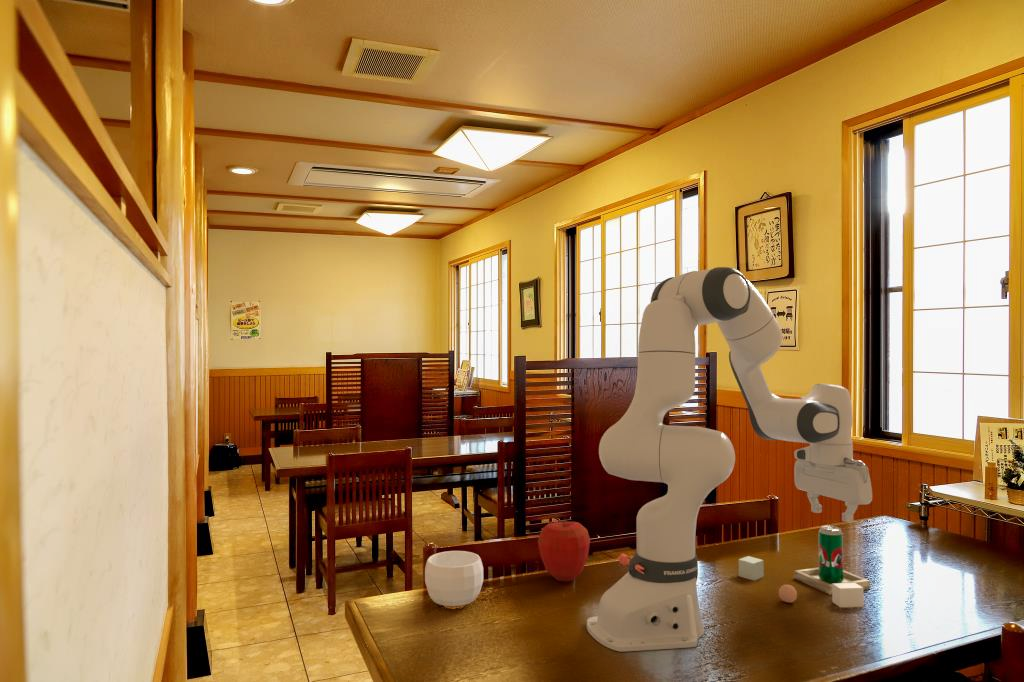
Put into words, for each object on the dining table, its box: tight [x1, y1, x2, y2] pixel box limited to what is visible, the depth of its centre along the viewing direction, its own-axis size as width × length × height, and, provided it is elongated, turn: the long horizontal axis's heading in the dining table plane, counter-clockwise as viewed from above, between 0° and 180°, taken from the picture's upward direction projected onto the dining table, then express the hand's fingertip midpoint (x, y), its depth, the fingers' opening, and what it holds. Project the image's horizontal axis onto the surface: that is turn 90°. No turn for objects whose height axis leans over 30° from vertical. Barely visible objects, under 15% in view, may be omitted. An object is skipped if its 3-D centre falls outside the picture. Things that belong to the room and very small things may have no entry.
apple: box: [537, 518, 591, 582], centre depth 160 cm, size 12×12×14 cm
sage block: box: [738, 555, 765, 581], centre depth 161 cm, size 4×4×4 cm
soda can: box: [817, 525, 844, 584], centre depth 156 cm, size 5×5×12 cm
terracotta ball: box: [778, 584, 798, 604], centre depth 145 cm, size 4×4×4 cm
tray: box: [793, 566, 871, 596], centre depth 156 cm, size 11×11×2 cm
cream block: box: [832, 583, 864, 608], centre depth 143 cm, size 5×3×4 cm, turn 93°
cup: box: [424, 550, 484, 607], centre depth 145 cm, size 12×12×10 cm
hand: (831, 516), depth 155 cm, fingers open, 8 cm apart
